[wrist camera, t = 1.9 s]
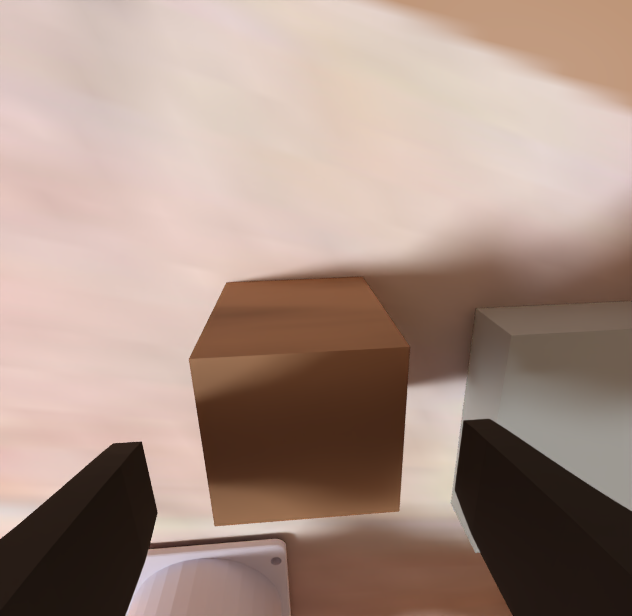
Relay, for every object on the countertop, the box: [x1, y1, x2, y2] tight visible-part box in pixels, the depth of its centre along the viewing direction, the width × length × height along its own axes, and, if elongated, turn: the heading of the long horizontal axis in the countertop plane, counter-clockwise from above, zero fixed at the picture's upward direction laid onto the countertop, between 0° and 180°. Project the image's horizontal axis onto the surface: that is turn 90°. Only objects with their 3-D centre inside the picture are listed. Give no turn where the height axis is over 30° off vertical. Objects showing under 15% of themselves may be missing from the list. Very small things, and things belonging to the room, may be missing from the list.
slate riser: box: [451, 301, 632, 553], centre depth 16 cm, size 10×10×3 cm
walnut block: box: [189, 277, 410, 526], centre depth 13 cm, size 5×5×6 cm
